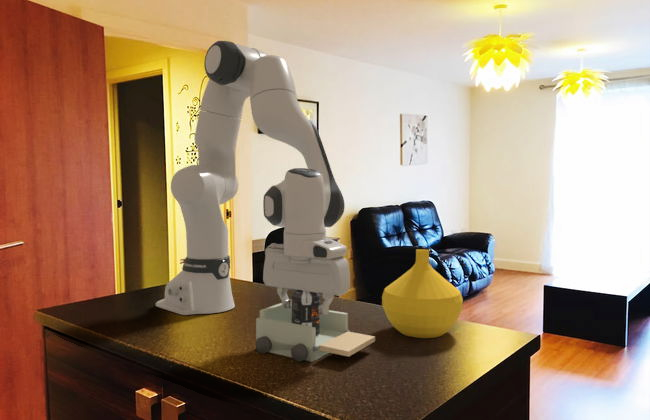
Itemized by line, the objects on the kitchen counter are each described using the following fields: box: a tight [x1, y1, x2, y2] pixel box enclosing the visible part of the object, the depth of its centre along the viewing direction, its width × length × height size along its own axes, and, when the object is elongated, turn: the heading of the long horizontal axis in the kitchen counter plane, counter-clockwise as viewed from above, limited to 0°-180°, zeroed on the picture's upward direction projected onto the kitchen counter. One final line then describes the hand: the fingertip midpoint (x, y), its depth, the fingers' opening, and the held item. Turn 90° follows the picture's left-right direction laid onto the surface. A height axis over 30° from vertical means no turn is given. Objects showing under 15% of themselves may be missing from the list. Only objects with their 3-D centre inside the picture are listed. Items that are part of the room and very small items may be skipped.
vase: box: [381, 248, 464, 339], centre depth 121 cm, size 18×18×19 cm
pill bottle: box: [291, 290, 321, 336], centre depth 111 cm, size 6×6×11 cm
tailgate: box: [320, 331, 376, 358], centre depth 106 cm, size 1×11×6 cm
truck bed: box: [255, 302, 351, 363], centre depth 111 cm, size 15×17×8 cm
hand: (304, 311), depth 111 cm, fingers open, 8 cm apart
